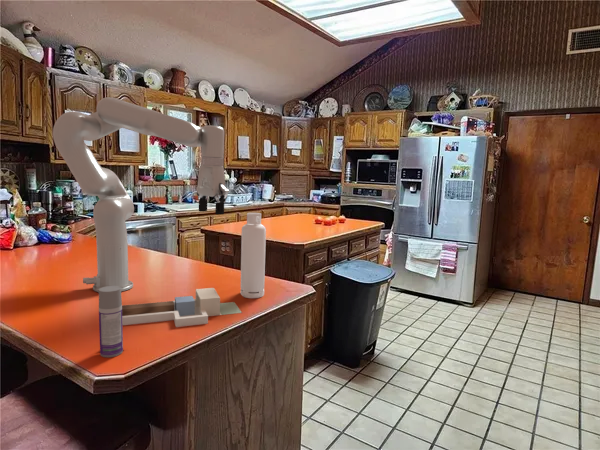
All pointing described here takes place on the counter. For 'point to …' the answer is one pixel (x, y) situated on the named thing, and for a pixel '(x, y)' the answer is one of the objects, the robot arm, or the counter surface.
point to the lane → (204, 307)
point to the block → (185, 305)
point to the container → (110, 321)
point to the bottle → (253, 257)
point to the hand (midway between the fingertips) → (211, 212)
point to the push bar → (147, 308)
